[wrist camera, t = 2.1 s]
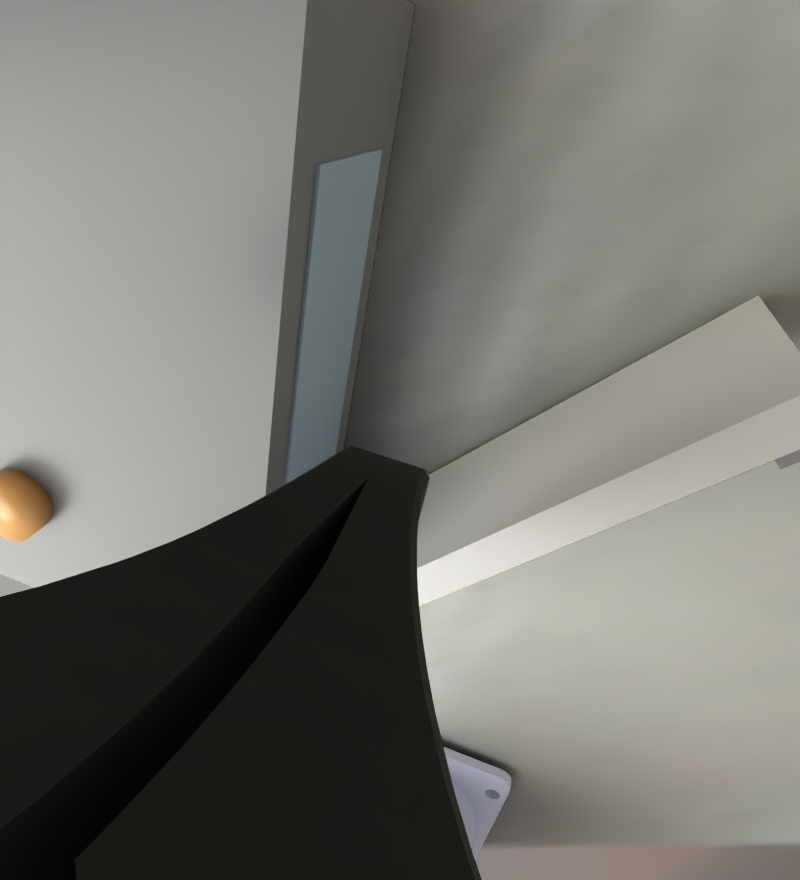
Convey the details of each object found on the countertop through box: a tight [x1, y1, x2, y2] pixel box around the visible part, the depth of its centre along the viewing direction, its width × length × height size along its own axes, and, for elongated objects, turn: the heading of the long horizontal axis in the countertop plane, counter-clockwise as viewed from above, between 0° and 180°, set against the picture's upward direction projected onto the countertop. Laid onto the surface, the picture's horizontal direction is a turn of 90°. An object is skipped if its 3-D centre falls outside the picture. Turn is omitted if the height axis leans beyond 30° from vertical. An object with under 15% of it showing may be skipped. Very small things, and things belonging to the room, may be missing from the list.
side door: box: [417, 295, 800, 606], centre depth 14 cm, size 12×1×5 cm, turn 129°
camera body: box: [0, 0, 415, 588], centre depth 13 cm, size 16×9×6 cm, turn 169°
